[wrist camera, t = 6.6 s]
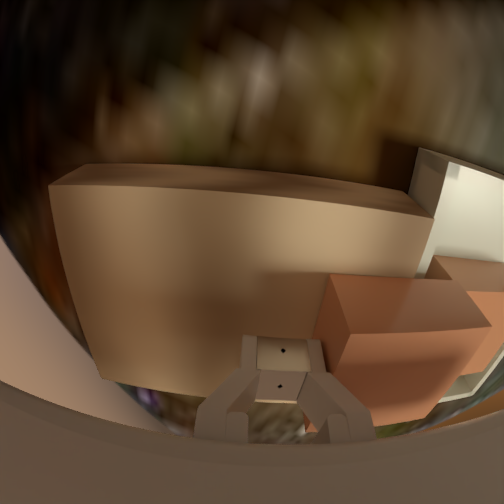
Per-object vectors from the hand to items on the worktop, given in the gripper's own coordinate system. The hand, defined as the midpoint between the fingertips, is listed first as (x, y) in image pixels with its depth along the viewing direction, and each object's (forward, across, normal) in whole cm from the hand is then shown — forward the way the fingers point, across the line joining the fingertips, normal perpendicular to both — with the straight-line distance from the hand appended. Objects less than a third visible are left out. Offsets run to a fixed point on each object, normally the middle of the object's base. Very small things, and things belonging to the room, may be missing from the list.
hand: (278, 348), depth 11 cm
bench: (+4, +2, 0) cm, 5 cm away
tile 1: (+1, -4, 0) cm, 5 cm away
